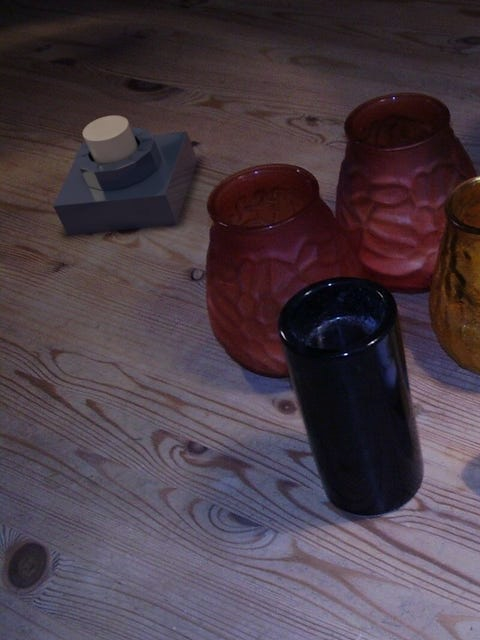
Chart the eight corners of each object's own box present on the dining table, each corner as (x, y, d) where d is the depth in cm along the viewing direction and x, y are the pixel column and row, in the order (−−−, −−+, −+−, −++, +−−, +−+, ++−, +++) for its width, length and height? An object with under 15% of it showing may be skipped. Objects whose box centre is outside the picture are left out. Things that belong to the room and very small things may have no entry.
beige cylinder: (88, 167, 88) (77, 142, 86) (99, 142, 90) (89, 117, 89) (132, 163, 87) (122, 138, 86) (142, 137, 90) (132, 113, 88)
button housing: (70, 241, 90) (43, 187, 85) (98, 176, 97) (74, 123, 92) (179, 231, 89) (157, 175, 85) (199, 166, 96) (180, 112, 92)
